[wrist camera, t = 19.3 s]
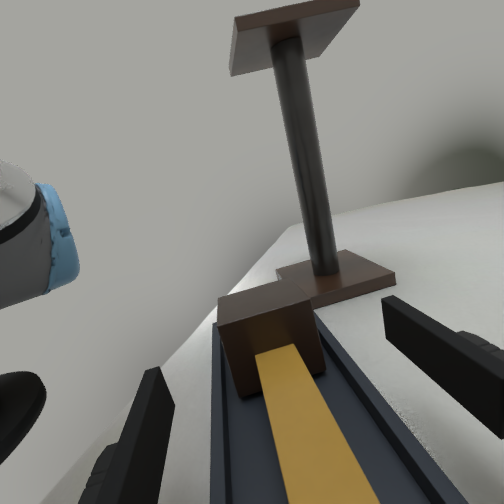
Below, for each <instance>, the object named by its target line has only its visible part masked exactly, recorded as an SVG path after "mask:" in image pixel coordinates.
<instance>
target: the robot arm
mask: <svg viewBox="0 0 504 504" xmlns="http://www.w3.org/2000/svg"><path fill="white" fill-rule="evenodd" d="M79 270H80V265H79V259H78V254H77V250H76V246H75V243H74V239H73V236H72V234H71V232H70V228H69V225H68V220H67V217H66V215H65V212H64V209H63V206H62V204H61V201H60V199H59V196H58V195H57V192H56V191H55V189H54V188H53V187H52V186H51V185H49V184H40V183H35V184H34V182H33V180H32V179H31V177H30V176H29V175H28V174H27V173H26V172H25V171H24V170H23V169H22V168H20V167H18V166H17V165H14V164H12V163H10V162H7V161H4V160H1V159H0V309H3V308H5V307H8V306H11V305H14V304H17V303H20V302H23V301H26V300H29V299H32V298H34V297H37V296H40V295H45V294H47V293H49V292H50V291H51V290H53V289H56V288H58V287H60V286H63V285H66V284H68V283H70V282H72V281H73V280H75V279H76V277H77V276H78V273H79ZM381 303H382V311H383V319H384V327H385V335H386V339H387V340H388V341H389V342H390V343H391V344H393V345H394V346H395V347H396V348H397V349H398V350H399V351H401V352H402V353H403V354H404V355H405V356H406V357H407V358H409V359H410V360H411V361H412V362H413V363H414V364H415V365H416V366H418V367H419V368H420V369H421V370H422V371H423V372H424V373H426V374H427V375H428V376H429V377H430V378H431V379H432V380H434V381H435V382H436V383H437V384H438V385H439V386H440V387H442V388H443V389H444V390H445V391H446V392H447V393H448V394H449V395H451V396H452V397H453V398H454V399H455V400H456V401H457V402H459V403H460V404H461V405H462V406H463V407H464V408H465V409H467V410H468V411H469V412H470V413H471V414H472V415H473V416H475V417H476V418H477V419H478V420H479V421H480V422H481V423H482V424H484V425H485V426H486V427H487V428H488V429H489V430H490V431H492V432H493V433H494V434H495V435H496V436H497V437H498V438H500V439H501V440H502V439H504V350H500V348H499V347H497V346H495V345H493V344H490V343H489V342H488V341H486V340H484V339H483V338H481V337H479V336H477V335H474V334H471V333H468V332H465V331H460V332H457V333H456V332H454V331H452V330H451V329H449V328H447V327H446V326H444V325H442V324H441V323H439V322H437V321H436V320H434V319H432V318H431V317H429V316H427V315H426V314H424V313H422V312H421V311H419V310H417V309H416V308H414V307H412V306H411V305H409V304H407V303H406V302H404V301H402V300H401V299H399V298H397V297H396V296H394V295H392V296H388V297H385V298H382V299H381ZM174 410H175V404H174V401H173V399H172V396H171V394H170V391H169V389H168V387H167V384H166V382H165V379H164V377H163V374H162V372H161V369H160V367H159V366H158V367H155V368H152V369H149V370H146V371H145V373H144V375H143V378H142V380H141V383H140V386H139V388H138V391H137V394H136V396H135V399H134V402H133V404H132V407H131V409H130V412H129V415H128V417H127V420H126V423H125V425H124V428H123V431H122V433H121V436H120V438H119V441H118V442H117V443H114V444H111V445H108V446H107V447H106V448H105V449H104V451H103V452H102V453H101V455H100V456H99V457H98V459H97V461H96V463H95V465H94V467H93V470H92V472H91V476H90V477H89V479H88V481H87V484H86V488H85V489H84V491H83V493H82V495H81V498H80V500H79V502H78V504H158V498H159V493H160V487H161V482H162V476H163V470H164V465H165V459H166V454H167V448H168V443H169V437H170V432H171V426H172V421H173V415H174Z"/></svg>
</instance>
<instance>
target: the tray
mask: <svg viewBox="0 0 504 504" xmlns="http://www.w3.org/2000/svg"><path fill="white" fill-rule="evenodd" d="M314 316H315V320H316V324H317V329H318V333H319V338H320V342H321V346H322V351H323V355H324V359H325V364H326V368H327V370H325V371H322V372H319V373H316V374H313V375H311V376H312V378H313V380H314V382H315V384H316V386H317V388H318V389H319V391H320V393H321V395H322V397H323V399H324V400H325V402H326V404H327V406H328V408H329V410H330V412H331V413H332V415H333V417H334V419H335V421H336V423H337V424H338V426H339V428H340V430H341V432H342V434H343V435H344V437H345V439H346V441H347V443H348V445H349V447H350V448H351V450H352V452H353V454H354V456H355V458H356V459H357V461H358V463H359V465H360V467H361V469H362V470H363V472H364V474H365V476H366V478H367V480H368V482H369V483H370V485H371V487H372V489H373V491H374V493H375V494H376V496H377V498H378V500H379V502H380V504H469V503H468V502H467V501H466V500H465V498H464V497H463V496H462V495H461V493H460V492H459V491H458V490H457V488H456V487H455V486H454V485H453V484H452V482H451V481H450V480H449V479H448V477H447V476H446V475H445V474H444V472H443V471H442V470H441V469H440V467H439V466H438V465H437V464H436V462H435V461H434V460H433V459H432V457H431V456H430V455H429V454H428V452H427V451H426V450H425V449H424V448H423V446H422V445H421V444H420V443H419V441H418V440H417V439H416V438H415V436H414V435H413V434H412V433H411V431H410V430H409V429H408V428H407V426H406V425H405V424H404V423H403V421H402V420H401V419H400V418H399V416H398V415H397V414H396V413H395V412H394V410H393V409H392V408H391V407H390V405H389V404H388V403H387V402H386V400H385V399H384V398H383V397H382V395H381V394H380V393H379V392H378V390H377V389H376V388H375V387H374V385H373V384H372V383H371V382H370V380H369V379H368V378H367V377H366V375H365V374H364V373H363V372H362V371H361V369H360V368H359V367H358V366H357V364H356V363H355V362H354V361H353V359H352V358H351V357H350V356H349V354H348V353H347V352H346V351H345V349H344V348H343V347H342V346H341V344H340V343H339V342H338V341H337V339H336V338H335V337H334V336H333V335H332V333H331V332H330V331H329V330H328V328H327V327H326V326H325V325H324V323H323V322H322V321H321V320H320V318H319V317H318V316H317V315H316V313H315V312H314ZM210 504H289V502H288V498H287V494H286V489H285V485H284V481H283V476H282V472H281V468H280V463H279V459H278V455H277V450H276V446H275V442H274V437H273V433H272V429H271V424H270V420H269V416H268V411H267V407H266V403H265V398H264V394H263V391H260V392H257V393H253V394H250V395H247V396H244V397H241V398H239V397H238V394H237V391H236V388H235V384H234V381H233V378H232V375H231V371H230V368H229V365H228V362H227V358H226V355H225V352H224V349H223V345H222V342H221V339H220V336H219V332H218V329H217V322H215V323H213V327H212V395H211V465H210Z"/></svg>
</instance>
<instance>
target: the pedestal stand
mask: <svg viewBox="0 0 504 504" xmlns="http://www.w3.org/2000/svg"><path fill="white" fill-rule="evenodd" d="M359 6H360V1H359V0H313V1H307V2H303V3H298V4H293V5H288V6H283V7H279V8H275V9H269V10H265V11H260V12H255V13H250V14H245V15H241V16H236V17H235V18H234V26H233V35H232V44H231V52H230V60H229V70H230V75H231V76H236V75H241V74H245V73H250V72H254V71H258V70H263V69H267V68H272V67H273V69H274V75H275V79H276V84H277V89H278V95H279V100H280V105H281V110H282V115H283V121H284V126H285V131H286V136H287V141H288V146H289V151H290V156H291V161H292V167H293V171H294V177H295V182H296V187H297V192H298V197H299V203H300V208H301V213H302V218H303V223H304V228H305V233H306V238H307V244H308V249H309V254H310V260H307V261H303V262H300V263H297V264H293V265H290V266H286V267H283V268H279V269H276V274H277V278H278V280H282V279H286V278H290V279H291V280H292V281H293V282H294V283H295V284H296V285H297V286H298V287H299V288H300V289H301V290H302V291H303V292H304V293H305V294H306V295H307V296H308V297H309V298H310V299H311V302H312V307H313V309H316V308H319V307H323V306H326V305H329V304H333V303H336V302H339V301H343V300H346V299H349V298H353V297H356V296H359V295H362V294H366V293H369V292H372V291H376V290H379V289H382V288H386V287H389V286H392V285H396V279H395V272H393V271H391V270H388V269H386V268H384V267H382V266H380V265H378V264H376V263H374V262H371V261H369V260H367V259H365V258H363V257H361V256H359V255H356V254H354V253H352V252H350V251H348V250H346V249H345V250H342V251H338V252H337V249H336V243H335V237H334V231H333V225H332V218H331V213H330V207H329V200H328V194H327V188H326V182H325V176H324V170H323V164H322V158H321V152H320V146H319V140H318V134H317V128H316V121H315V115H314V110H313V103H312V97H311V92H310V85H309V79H308V73H307V67H306V61H305V60H307V59H311V58H315V57H319V56H320V55H321V54H322V53H323V51H324V50H325V49H326V48H327V46H328V45H329V44H330V43H331V41H332V40H333V39H334V38H335V36H336V35H337V34H338V32H339V31H340V30H341V29H342V27H343V26H344V25H345V24H346V22H347V21H348V20H349V19H350V17H351V16H352V15H353V14H354V12H355V11H356V10H357V9H358V7H359Z"/></svg>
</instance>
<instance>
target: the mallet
mask: <svg viewBox="0 0 504 504" xmlns="http://www.w3.org/2000/svg"><path fill="white" fill-rule="evenodd" d="M217 329H218V332H219V336H220V339H221V342H222V345H223V349H224V352H225V355H226V358H227V362H228V365H229V368H230V371H231V375H232V378H233V381H234V384H235V388H236V391H237V394H238V397H239V398H241V397H244V396H247V395H250V394H253V393H257V392H260V391H263V394H264V398H265V403H266V407H267V411H268V416H269V420H270V424H271V429H272V433H273V437H274V442H275V446H276V450H277V455H278V459H279V463H280V468H281V472H282V476H283V481H284V485H285V489H286V494H287V498H288V502H289V504H380V502H379V500H378V498H377V496H376V494H375V493H374V491H373V489H372V487H371V485H370V483H369V482H368V480H367V478H366V476H365V474H364V472H363V470H362V469H361V467H360V465H359V463H358V461H357V459H356V458H355V456H354V454H353V452H352V450H351V448H350V447H349V445H348V443H347V441H346V439H345V437H344V435H343V434H342V432H341V430H340V428H339V426H338V424H337V423H336V421H335V419H334V417H333V415H332V413H331V412H330V410H329V408H328V406H327V404H326V402H325V400H324V399H323V397H322V395H321V393H320V391H319V389H318V388H317V386H316V384H315V382H314V380H313V378H312V376H311V375H313V374H316V373H319V372H322V371H325V370H327V368H326V364H325V359H324V355H323V351H322V346H321V342H320V338H319V333H318V329H317V324H316V320H315V316H314V311H313V307H312V302H311V299H310V298H309V297H308V296H307V295H306V294H305V293H304V292H303V291H302V290H301V289H300V288H299V287H298V286H297V285H296V284H295V283H294V282H293V281H292V280H291V279H290V278H286V279H282V280H279V281H275V282H272V283H268V284H265V285H261V286H258V287H255V288H251V289H248V290H244V291H241V292H237V293H234V294H230V295H227V296H223V297H220V298H218V309H217Z"/></svg>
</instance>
